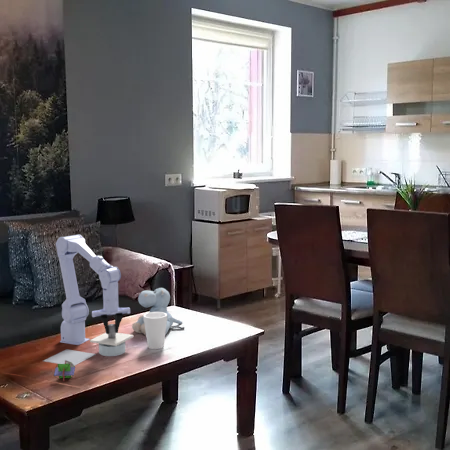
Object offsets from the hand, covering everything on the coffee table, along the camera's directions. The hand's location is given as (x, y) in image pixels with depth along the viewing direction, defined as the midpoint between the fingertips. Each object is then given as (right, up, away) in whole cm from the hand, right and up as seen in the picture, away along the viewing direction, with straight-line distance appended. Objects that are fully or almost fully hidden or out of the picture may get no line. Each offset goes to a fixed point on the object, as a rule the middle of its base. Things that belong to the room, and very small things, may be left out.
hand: (111, 332), depth 235 cm
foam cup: (+16, -7, +8) cm, 20 cm away
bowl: (0, -8, +1) cm, 8 cm away
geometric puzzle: (-11, -12, -27) cm, 31 cm away
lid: (0, -3, 0) cm, 3 cm away
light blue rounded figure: (+15, -4, +31) cm, 35 cm away
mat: (-15, -9, -5) cm, 18 cm away
